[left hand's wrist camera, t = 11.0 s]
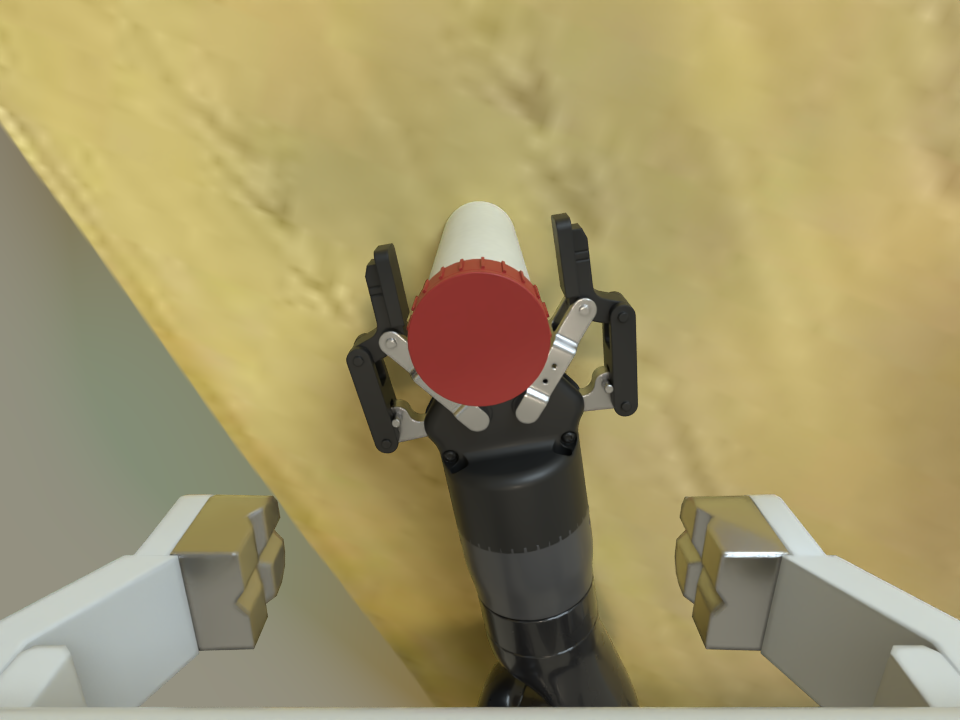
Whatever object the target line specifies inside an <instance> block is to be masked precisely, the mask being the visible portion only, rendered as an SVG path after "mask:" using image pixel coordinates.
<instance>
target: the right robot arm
mask: <svg viewBox="0 0 960 720" xmlns="http://www.w3.org/2000/svg"><path fill="white" fill-rule="evenodd" d="M551 220H552V228H553V235H554V243H555V250H556V258H557V265H558V273H559V280H560V287H561V289H562V291H563V293H564V297H563V299H562V301H561V302H560V304H559V306H558V308H557V309H556V311H555V313H554V315H553V316H552V318H551V319H550V320H548V323H549V327H550V331H551V334H552V337H551V343H550V351H549V355H548V359H547V362H546V364H545V366H544V368H543V370H542V372H541V373H540V375H539V377H538V378H537V379H536V380H535V382H534V383H533V384H532V385H531V386H530V387H529V388H528V389H527V390H525V391H524V392H522V393H521V394H520V395H518V396H516V397H515V398H513V399H511V400H508V401H506V402H503V403H500V404H496V405H491V406H467V405H462V404H458V403H455V402H452V401H450V400H448V399H446V398H443V397H442V396H440V395H439V394H437V393H435V392H434V391H433V390H432V389H431V388H429V387H428V386H427V385H426V384H425V383H424V381H423V380H422V379H421V378H420V376H419V375H418V373H417V372H416V370H415V368H414V366H413V364H412V361H411V358H410V355H409V350H408V341H407V338H408V330H407V325H408V322H407V321H406V320H407V318H408V315H409V308H408V304H407V299H406V295H405V291H404V286H403V282H402V278H401V273H400V269H399V265H398V260H397V256H396V252H395V248H394V245H393V244H392V243H391V244H386V245H380V246H378V247H377V248H376V250H375V251H374V259H371V261H370V262H369V263H368V265H367V268H366V275H365V278H366V282H367V286H368V290H369V294H370V298H371V302H372V306H373V309H374V313H375V317H376V321H377V328H376V329H374V330H372V331H371V332H369V333H364V334H361V335H359V336H358V337H357V339H356V341H355V343H354V346H353V348H352V349H351V350H350V352H349V353H348V355H347V358H346V362H347V365H348V368H349V371H350V374H351V377H352V379H353V382H354V385H355V388H356V391H357V394H358V397H359V400H360V402H361V405H362V408H363V411H364V414H365V417H366V420H367V423H368V425H369V428H370V431H371V434H372V437H373V440H374V443H375V446H376V448H377V449H378V450H379V451H381V452H383V453H391V452H394V451H395V450H396V449H397V447H398V443H399V442H403V441H407V440H412V439H417V438H421V437H426V436H428V437H429V438H430V439H431V440H432V441H433V442H434V443H435V444H436V446H437V447H438V449H439V451H440V454H441V458H442V462H443V467H444V471H445V475H446V480H447V484H448V488H449V492H450V497H451V501H452V505H453V510H454V514H455V519H456V523H457V527H458V532H459V536H460V540H461V544H462V548H463V553H464V557H465V561H466V564H467V567H468V570H469V572H470V575H471V577H472V579H473V582H474V584H475V587H476V590H477V593H478V598H479V602H480V606H481V611H482V615H483V620H484V625H485V629H486V634H487V637H488V641H489V644H490V646H491V649H492V651H493V654H494V656H495V657H496V659H497V660H498V662H497V663H496V664H495V665H494V666H493V668H492V669H491V671H490V673H489V675H488V677H487V679H486V682H485V684H484V687H483V690H482V693H481V696H480V699H479V702H478V705H477V707H639V704H638V700H637V696H636V693H635V690H634V688H633V685H632V683H631V680H630V678H629V676H628V673H627V671H626V669H625V667H624V665H623V663H622V661H621V659H620V657H619V655H618V653H617V651H616V649H615V647H614V645H613V643H612V641H611V639H610V637H609V634H608V633H607V631H606V629H605V627H604V626H603V624H602V622H601V620H600V618H599V614H598V606H597V599H596V592H595V585H594V578H593V568H592V559H593V539H592V530H591V523H590V516H589V506H588V501H587V493H586V486H585V479H584V471H583V464H582V457H581V449H580V442H579V434H578V425H579V421H580V418H581V416H582V414H583V412H584V411H591V410H601V409H611V408H614V410H615V411H616V413H617V414H618V415H620V416H630V415H632V414H633V413H634V412H635V411H636V410H637V407H638V391H637V351H636V315H635V311H634V309H633V308H632V307H631V306H630V304H629V303H628V302H627V300H626V299H625V298H624V297H623V295H622V294H621V293H619V292H615V291H614V292H609V293H608V292H602V291H598V290H595V289H594V288H593V283H592V275H591V266H590V257H589V248H588V240H587V237H586V235H585V233H584V231H583V229H582V228H581V227H580V226H579V224H578V223H576V224H571V221H570V218H569V216H568V215H567V214H566V213H562V214H556V215H551ZM592 321H595V322H601V323H602V328H603V349H604V366H601V367H598V368H597V369H596V370H595V371H594V372H593V374H592V380H591V382H590V384H589V385H588V386H586V387H584V388H581V389H580V388H579V386H578V385H577V384H576V383H575V382H574V381H573V380H572V379H571V378H570V377H569V376H568V375H567V374H566V373H565V371H566V369H567V367H568V366H569V364H570V363H571V361H572V359H573V358H574V356H575V353H576V350H577V346H578V343H579V342H580V340H581V338H582V337H583V335H584V333H585V332H586V330H587V328H588V327H589V325H590V324H591V322H592ZM386 356H389V357H390V358H392V359H393V360H394V361H395V362H397V363H398V364H399V365H400V366H401V367H403V368H404V369H405V370H406V371H408V373H409V374H410V376H411V378H412V379H413V381H414V382H415V383H416V384H418V385H419V386H420V387H421V388H423V389H424V390H425V391H426V392H427V393H429V394H430V395H431V396H432V399H431V401H430V403H429V405H428V407H427V409H426V413H425V414H418V413H416V412H414V411H413V410H412V409H411V407H410V405H409V404H408V403H407V402H406V401H404V400H396V396H395V393H394V390H393V387H392V384H391V381H390V378H389V375H388V372H387V369H386V366H385V362H384V359H383V358H384V357H386Z"/></svg>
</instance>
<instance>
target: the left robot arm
mask: <svg viewBox="0 0 960 720" xmlns="http://www.w3.org/2000/svg"><path fill="white" fill-rule="evenodd" d="M279 519H280V513H279V508H278V502H277V500H276V499H275V498H274V497H273V496H254V495H184V496H182V497H179V498H178V500H177V501H176V502H175V503H174V505H173V506H172V507H171V508H170V510H169V511H168V512H167V514H166V515H165V516H164V517H163V519H162V520H161V521H160V522H159V524H158V525H157V526H156V528H155V529H154V530H153V531H152V533H151V534H150V535H149V536H148V538H147V539H146V540H145V541H144V543H143V544H142V545H141V546H140V548H139V549H138V550H137V551H136V553H135V554H134V555H124V556H122V557H120V558H118V559H116V560H114V561H112V562H111V563H109V564H107V565H105V566H103V567H101V568H99V569H97V570H95V571H93V572H91V573H90V574H88V575H86V576H84V577H82V578H80V579H78V580H76V581H74V582H72V583H70V584H68V585H67V586H65V587H63V588H61V589H59V590H57V591H55V592H53V593H51V594H49V595H48V596H46V597H44V598H42V599H40V600H38V601H36V602H34V603H32V604H31V605H29V606H27V607H25V608H23V609H21V610H19V611H17V612H15V613H13V614H11V615H9V616H8V617H6V618H4V619H2V620H0V720H960V620H958V619H956V618H954V617H952V616H950V615H948V614H946V613H945V612H943V611H941V610H939V609H937V608H935V607H933V606H931V605H929V604H927V603H926V602H924V601H922V600H920V599H918V598H916V597H914V596H912V595H910V594H908V593H907V592H905V591H903V590H901V589H899V588H897V587H895V586H893V585H891V584H889V583H888V582H886V581H884V580H882V579H880V578H878V577H876V576H874V575H872V574H870V573H869V572H867V571H865V570H863V569H861V568H859V567H857V566H855V565H853V564H851V563H850V562H848V561H846V560H844V559H842V558H840V557H838V556H836V555H826V554H825V553H824V552H823V550H822V549H821V548H820V547H819V545H818V544H817V543H816V541H815V540H814V539H813V538H812V536H811V535H810V534H809V533H808V531H807V530H806V529H805V528H804V526H803V525H802V524H801V523H800V521H799V520H798V519H797V518H796V516H795V515H794V514H793V512H792V511H791V510H790V509H789V507H788V506H787V505H786V504H785V502H784V501H783V500H782V499H781V498H780V497H779V496H777V495H775V494H764V495H744V496H698V497H685V498H684V500H683V503H682V506H681V512H680V519H681V521H682V523H683V525H684V527H685V529H686V530H685V531H684V532H683V533H682V534H681V535H680V536H679V537H678V538H677V540H676V549H675V566H676V575H677V579H678V583H679V586H680V589H681V591H682V594H683V596H684V597H686V598H687V599H688V600H690V601H691V602H692V603H694V608H693V614H692V617H693V620H694V622H695V624H696V627H697V629H698V631H699V634H700V636H701V638H702V641H703V643H704V645H705V648H706V649H720V650H756V651H761V654H762V655H763V656H764V657H766V658H767V659H768V660H769V661H770V662H771V663H772V664H773V665H775V666H776V667H777V668H778V669H779V670H780V671H781V672H782V673H784V674H785V675H786V676H787V677H788V678H789V679H790V680H792V681H793V682H794V683H795V684H796V685H797V686H798V687H799V688H801V689H802V690H803V691H804V692H805V693H806V694H807V695H808V696H810V697H811V698H812V699H813V700H814V701H815V702H816V703H817V704H819V705H820V706H821V707H139V706H140V705H142V704H143V703H144V702H145V701H146V700H147V699H148V698H149V697H151V696H152V695H153V694H154V693H155V692H156V691H157V690H159V689H160V688H161V687H162V686H163V685H164V684H165V683H166V682H168V681H169V680H170V679H171V678H172V677H173V676H174V675H176V674H177V673H178V672H179V671H180V670H181V669H182V668H183V667H185V666H186V665H187V664H188V663H189V662H190V661H191V660H192V659H194V658H195V657H196V656H197V655H198V654H199V651H204V650H238V649H254V648H255V645H256V643H257V641H258V638H259V636H260V634H261V631H262V629H263V627H264V624H265V622H266V620H267V617H268V614H267V608H266V603H268V602H269V601H270V600H272V599H273V598H274V597H276V596H277V593H278V591H279V588H280V586H281V583H282V579H283V573H284V568H285V548H284V540H283V538H282V537H281V536H280V535H279V534H278V533H277V532H276V531H275V530H274V529H275V527H276V525H277V523H278V521H279Z"/></svg>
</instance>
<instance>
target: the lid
mask: <svg viewBox="0 0 960 720" xmlns="http://www.w3.org/2000/svg"><path fill="white" fill-rule="evenodd" d="M411 310H412V311H413V314H412V315H411V316H410V319H409V322H408V325H407V330H408V338H407V341H408V350H409V355H410V358H411V361H412V364H413V366H414V368H415V370H416V372H417V373H418V375H419V376H420V378H421V379H422V380H423V381H424V383H425V384H426V385H427V386H428V387H429V388H431V389H432V390H433V391H434V392H435V393H437V394H439V395H440V396H442V397H443V398H446V399H448V400H450V401H452V402H455V403H458V404H462V405H467V406H491V405H496V404H500V403H503V402H506V401H508V400H511V399H513V398H515V397H516V396H518V395H520V394H521V393H522V392H524V391H525V390H527V389H528V388H529V387H530V386H531V385H532V384H533V383H534V382H535V380H536V379H537V378H538V377H539V375H540V373H541V372H542V370H543V368H544V366H545V364H546V362H547V359H548V355H549V351H550V343H551V337H552V334H551V331H550V327H549V323H548V319H547V317H549V314H548V311H547V308H546V305H545V302H544V303H542V301H541V299H540V295H539V292H538V289H537V286H536V285H534V286H533V285H532V284H531V282H530V281H529V280H528V279H527V278H526V277H525V276H524V274H523V271H521V270H520V271H517V270H516V269H514V268H513V267H511V266H509V265H507V264H505V261H502V262H499V261H494V260H489V259H484V257H481V259H469V260H463V259H460V262H457V263H454V264H452V265H449V266H447V267H446V268H444V266H443V267H441V269H440V271H439V272H438V273H437V274H435V275H434V276H433V277H432V278H431V279H430V280H428V279H427V280H426V281H425V284H424V287H423V289H422V291H421V293H420V295H419V297H418V296H416V298H415V300H414V303H413V306H412V309H411Z"/></svg>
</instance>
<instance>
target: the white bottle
mask: <svg viewBox="0 0 960 720" xmlns="http://www.w3.org/2000/svg"><path fill="white" fill-rule="evenodd" d="M481 257H484V259H489V260H494V261H499V262H502V261H505V264H507V265H509V266H511V267H513V268H514V269H516V270H517V271H520V270H521V271H523V274H524V276H525V277H526V278H527V279H528V280H529V281H530V279H529V275H528V272H527V269H526V265H525V262H524V259H523V255H522V252H521V249H520V245H519V242H518V239H517V236H516V232H515V229H514V226H513V223H512V221H511V219H510V218H509V216H508V215H507V214H506V213H505V212H504V211H503V210H502V209H501V208H500V207H498V206H496V205H494V204H492V203H489V202H483V201H475V202H470V203H467V204H464V205H462V206H461V207H459V208H458V209H456V210H455V211H454V212H453V213H452V214H451V216H450V217H449V218H448V220H447V222H446V225H445V227H444V231H443V234H442V237H441V240H440V244H439V247H438V250H437V253H436V257H435V260H434V263H433V266H432V270H431V273H430V276H429V279H428V280H430V279H431V278H432V277H433V276H434V275H435V274H437V273H438V272H439V271H440V269H441V267H443V266H444V268H446V267H447V266H449V265H452V264H454V263H457V262H460V259H463V260H469V259H481Z"/></svg>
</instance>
